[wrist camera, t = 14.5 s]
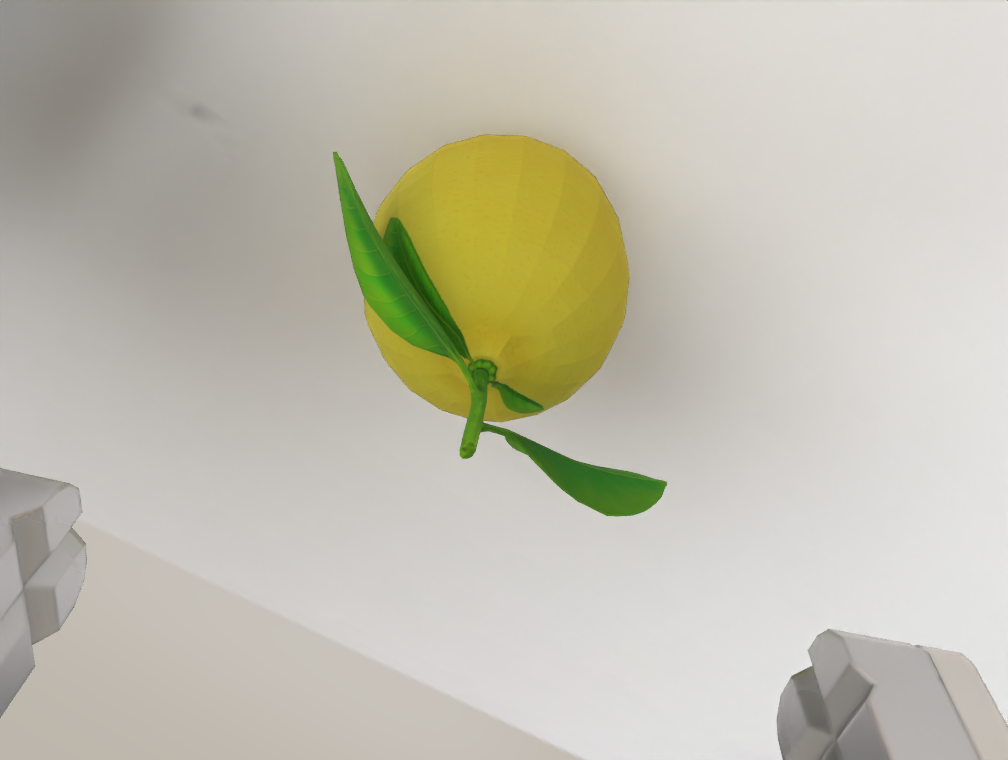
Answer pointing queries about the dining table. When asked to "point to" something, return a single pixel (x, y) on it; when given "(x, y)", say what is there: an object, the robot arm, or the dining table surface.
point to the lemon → (498, 293)
